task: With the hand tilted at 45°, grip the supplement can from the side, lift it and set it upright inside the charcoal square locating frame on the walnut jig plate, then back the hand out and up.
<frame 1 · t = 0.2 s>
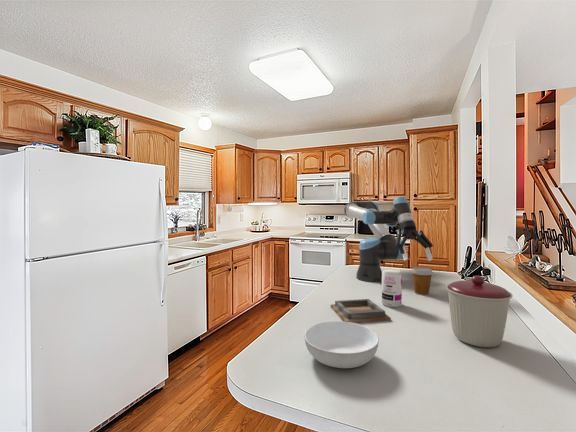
hand: (418, 260, 149), 16 cm above the countertop, tool tilted 35°, fingers open, 13 cm apart
canister: (476, 340, 97), on the countertop
supplement can: (391, 305, 131), on the countertop
serving bowl: (340, 358, 86), on the countertop
jig plate: (358, 313, 121), on the countertop
disposable coffee cup: (421, 293, 147), on the countertop
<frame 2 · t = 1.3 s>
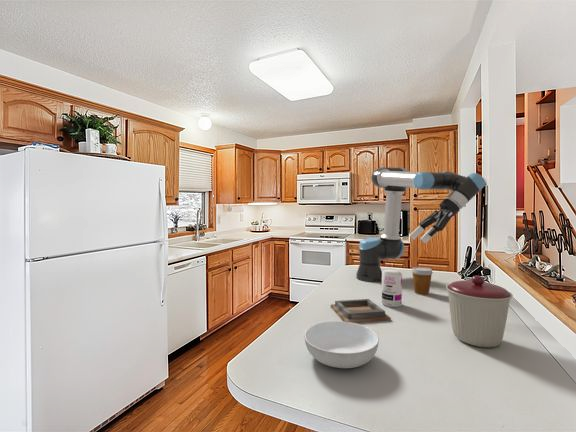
hand: (416, 239, 129), 29 cm above the countertop, tool tilted 45°, fingers open, 13 cm apart
nothing on the countertop moved.
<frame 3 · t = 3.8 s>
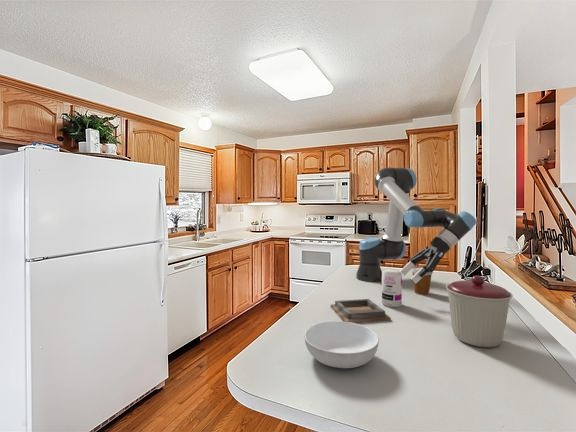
hand: (407, 277, 129), 12 cm above the countertop, tool tilted 45°, fingers open, 13 cm apart
nothing on the countertop moved.
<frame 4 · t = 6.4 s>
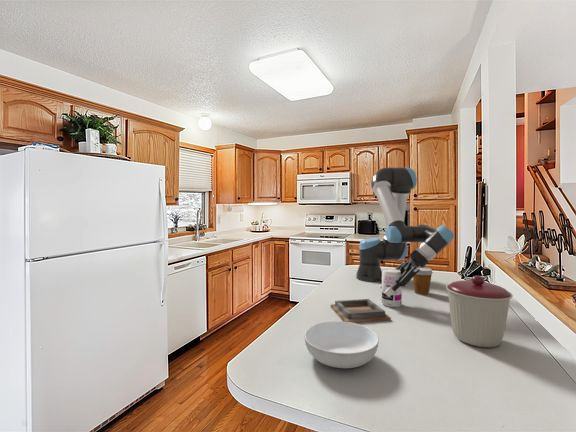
hand: (383, 291, 131), 6 cm above the countertop, tool tilted 45°, fingers closed on supplement can, 8 cm apart
supplement can: (391, 305, 131), on the countertop, touching gripper
everything else where it was.
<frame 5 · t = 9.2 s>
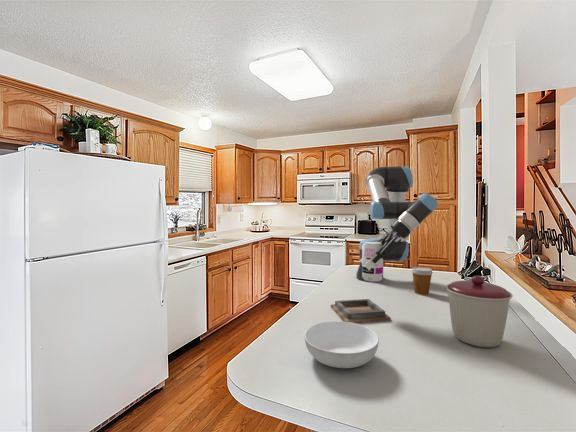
hand: (364, 265, 122), 19 cm above the countertop, tool tilted 45°, fingers closed on supplement can, 8 cm apart
supplement can: (372, 279, 122), point 13 cm above the countertop, touching gripper
everything else where it was.
when the fingers open (8 cm above the countertop, at t = 12.0 s): supplement can drops 1 cm, resting on jig plate.
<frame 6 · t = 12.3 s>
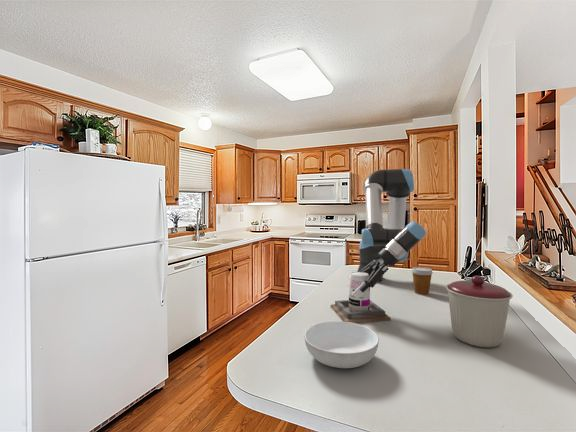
hand: (352, 291, 121), 9 cm above the countertop, tool tilted 45°, fingers open, 11 cm apart
supplement can: (359, 311, 121), point 1 cm above the countertop, touching jig plate
everything else where it was.
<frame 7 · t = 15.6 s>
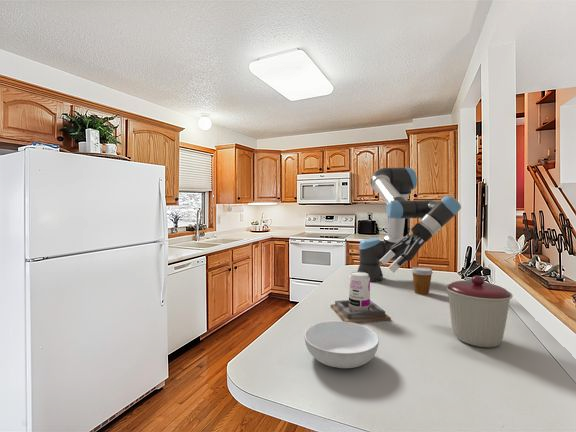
hand: (386, 266, 120), 19 cm above the countertop, tool tilted 45°, fingers open, 13 cm apart
nothing on the countertop moved.
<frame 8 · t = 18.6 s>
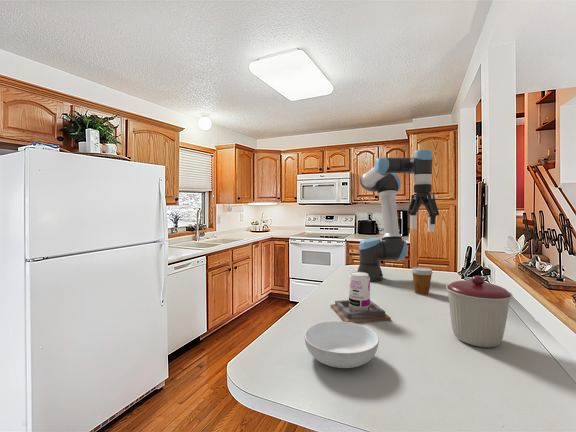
hand: (421, 230, 138), 32 cm above the countertop, tool pointing down, fingers open, 13 cm apart
nothing on the countertop moved.
at the end: supplement can 0.1 cm off-centre on the jig plate, point 0.8 cm above the jig plate's base; supplement can tilted 0°; the gripper is holding nothing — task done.
